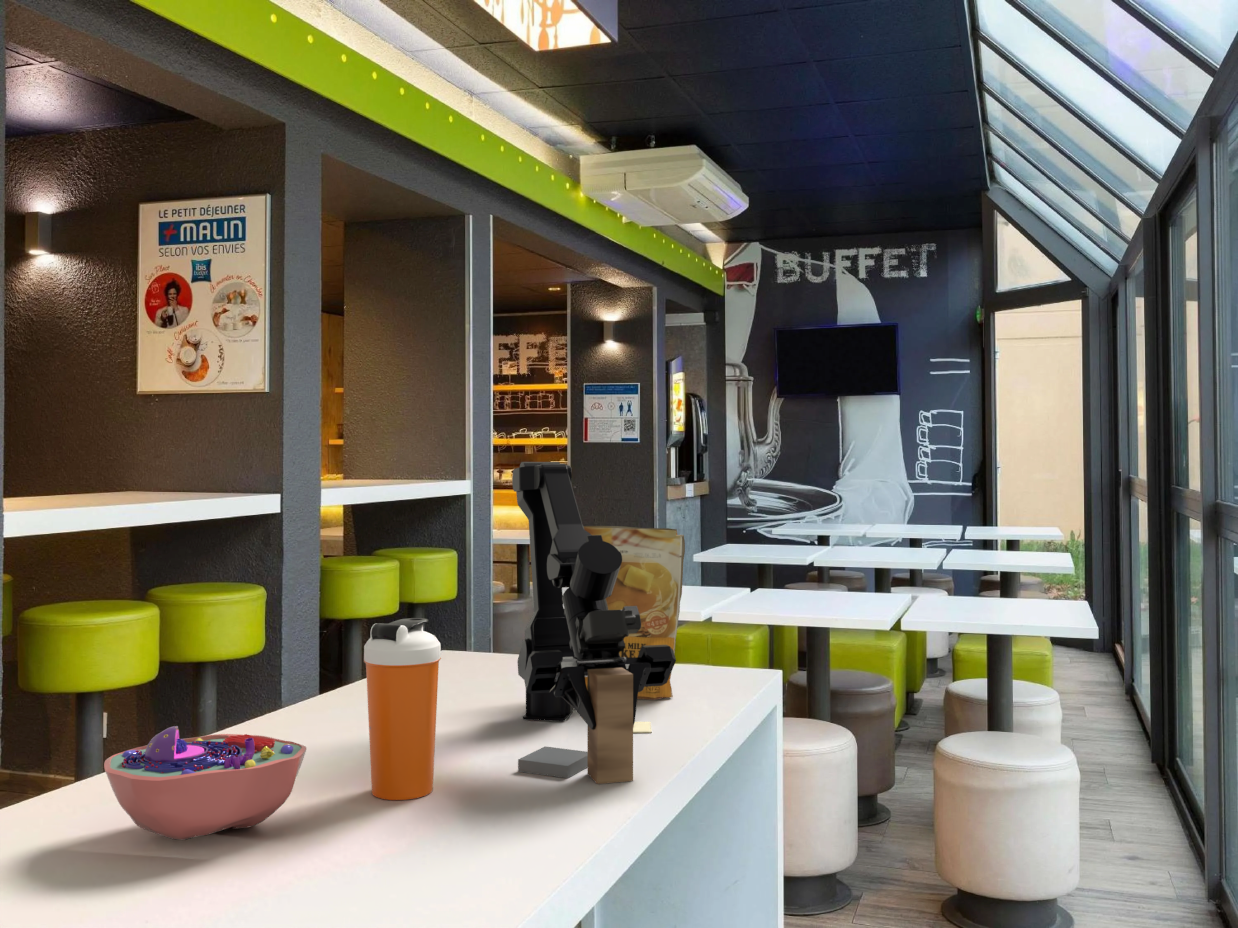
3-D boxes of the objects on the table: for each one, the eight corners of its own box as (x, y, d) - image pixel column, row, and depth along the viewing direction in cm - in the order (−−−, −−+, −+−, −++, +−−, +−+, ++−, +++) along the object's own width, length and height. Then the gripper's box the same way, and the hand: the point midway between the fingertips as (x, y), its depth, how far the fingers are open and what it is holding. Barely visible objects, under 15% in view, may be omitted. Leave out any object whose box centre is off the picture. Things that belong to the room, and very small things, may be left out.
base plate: (518, 771, 138) (518, 759, 138) (544, 757, 145) (544, 746, 145) (567, 777, 136) (567, 765, 136) (592, 763, 142) (592, 752, 142)
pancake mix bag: (577, 687, 190) (577, 524, 190) (686, 693, 185) (686, 526, 185) (565, 695, 184) (565, 526, 184) (677, 702, 179) (677, 528, 178)
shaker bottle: (454, 784, 133) (454, 618, 133) (417, 806, 124) (417, 628, 124) (389, 777, 136) (389, 614, 136) (348, 798, 127) (348, 624, 127)
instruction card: (588, 732, 158) (588, 730, 158) (589, 722, 164) (589, 720, 164) (651, 732, 158) (651, 730, 158) (650, 722, 164) (650, 720, 164)
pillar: (587, 773, 137) (587, 669, 137) (622, 770, 139) (622, 667, 139) (597, 783, 133) (597, 676, 133) (633, 780, 134) (633, 673, 134)
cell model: (307, 850, 111) (307, 737, 111) (88, 870, 105) (88, 751, 105) (305, 800, 127) (305, 701, 127) (115, 815, 121) (115, 712, 121)
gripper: (529, 586, 137) (549, 693, 126) (671, 582, 142) (701, 684, 132) (516, 640, 145) (534, 745, 134) (651, 633, 150) (679, 734, 139)
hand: (613, 726), depth 135 cm, fingers closed on pillar, 4 cm apart
